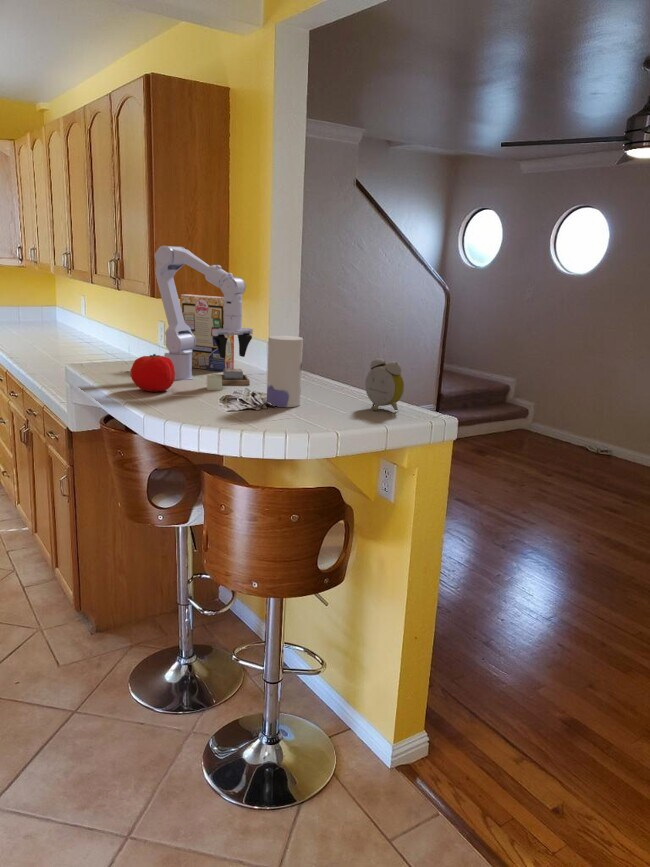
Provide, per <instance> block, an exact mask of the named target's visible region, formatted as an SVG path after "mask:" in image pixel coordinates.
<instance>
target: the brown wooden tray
mask: <svg viewBox="0 0 650 867" xmlns="http://www.w3.org/2000/svg"><path fill="white" fill-rule="evenodd" d="M210 375H221V376H222V386H248V387H249V386H251V385H250V379H249V377H248V376H247V374H243V380H223V373H222V374H216V373H215V374H214V373H213V374H212V373H211V374H210Z"/></svg>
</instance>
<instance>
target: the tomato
mask: <svg viewBox="0 0 650 867" xmlns="http://www.w3.org/2000/svg"><path fill="white" fill-rule="evenodd" d="M165 356H166V355H165ZM131 365H132V366H131V369H130V377H131V380H132V383H134V385H135V386H136V387H138V388H139V389H140V390H142V391H147V392H162V391H167V390H169V389H170V388H171V387H172V385H173V384H174V382H175V381H176V380H175V370H174V365H173V363H172V361H171V360H170V359H169V358H167V357H164V355H159V354H156V353H153V354H150V355H143V356H140V357H138V358H136V359H134V362H133V363H132V364H131Z"/></svg>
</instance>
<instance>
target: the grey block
mask: <svg viewBox="0 0 650 867" xmlns="http://www.w3.org/2000/svg"><path fill="white" fill-rule="evenodd" d="M222 374H223V380H243V375H244V371H243V370H242V369H241V368H234V369H223V371H222Z"/></svg>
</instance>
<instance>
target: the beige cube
mask: <svg viewBox="0 0 650 867" xmlns="http://www.w3.org/2000/svg"><path fill="white" fill-rule="evenodd" d="M206 389H207V391H223V385H222V376H221V375H211V374H207V375H206Z"/></svg>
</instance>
